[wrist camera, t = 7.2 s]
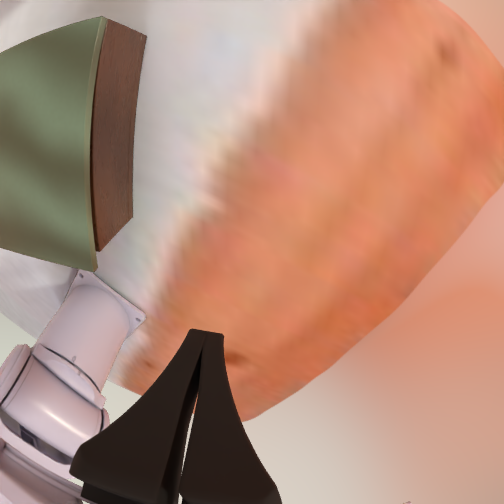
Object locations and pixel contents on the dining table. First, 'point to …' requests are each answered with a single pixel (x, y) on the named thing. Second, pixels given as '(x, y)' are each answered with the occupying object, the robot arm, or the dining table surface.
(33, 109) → the sage green tile
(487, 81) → the dining table surface
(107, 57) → the brown box
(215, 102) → the dining table surface
